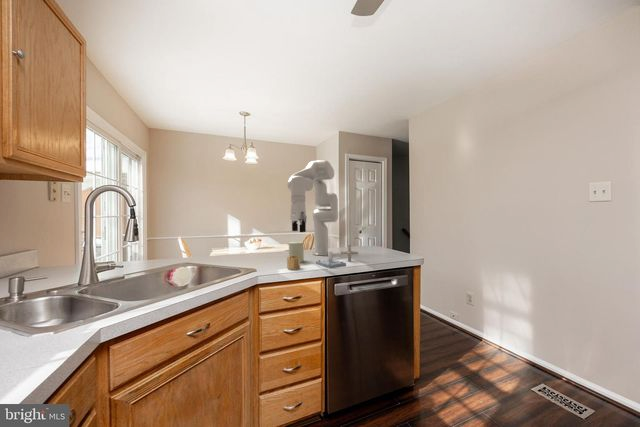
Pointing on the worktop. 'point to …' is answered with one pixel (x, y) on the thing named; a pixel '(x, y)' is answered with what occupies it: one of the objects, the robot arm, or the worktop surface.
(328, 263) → the shaft stand
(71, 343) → the worktop surface
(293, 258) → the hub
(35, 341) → the worktop surface
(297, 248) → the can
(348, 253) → the pipe connector
